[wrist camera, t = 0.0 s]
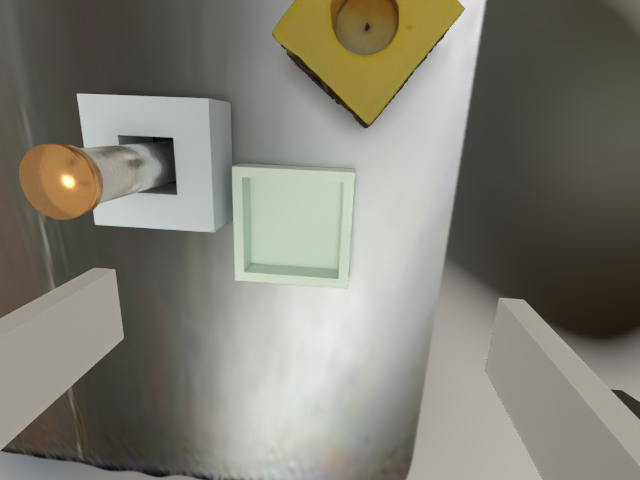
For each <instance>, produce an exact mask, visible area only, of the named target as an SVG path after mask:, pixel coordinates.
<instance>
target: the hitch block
mask: <svg viewBox="0 0 640 480" xmlns="http://www.w3.org/2000/svg"><path fill="white" fill-rule="evenodd" d="M77 99H78V106H79V113H80V120H81V128H82V135H83V142H84V148H90V147H103V146H115V145H128V144H140V143H153V137H171V138H173V141H174V155H175V168H176V182H177V184H163V185H160V186H157V187H153V188H150V189H147V190H143V191H140V192H137V193H133V194H130V195H127V196H123V197H120V198H117V199H113V200H110V201H107V202H103V203H100V204H98V206H97V207H96V208H95V209H94V210H93V213H94V220H95V225H108V226H123V227H139V228H154V229H170V230H185V231H201V232H216V231H217V230H218V229H220V228H221V227H222V226H224V225H225V224H226V223H228V222H229V221H230V220H232V219H233V193H232V132H231V103H230V102H225V101H219V100H214V99H209V98H183V97H156V96H128V95H101V94H77Z"/></svg>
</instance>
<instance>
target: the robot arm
mask: <svg viewBox="0 0 640 480" xmlns="http://www.w3.org/2000/svg"><path fill="white" fill-rule="evenodd" d="M123 338H124V335H123V327H122V320H121V312H120V304H119V296H118V289H117V281H116V273H115V269H104V268H93V269H91V270H89V271H87V272H86V273H84V274H82V275H80V276H78V277H76V278H74V279H73V280H71V281H69V282H67V283H65V284H63V285H61V286H60V287H58V288H56V289H54V290H52V291H50V292H49V293H47V294H45V295H43V296H41V297H39V298H37V299H36V300H34V301H32V302H30V303H28V304H26V305H24V306H23V307H21V308H19V309H17V310H15V311H13V312H11V313H10V314H8V315H6V316H4V317H2V318H0V450H1V449H2V448H4V447H5V446H6V445H7V444H8V443H9V442H10V441H11V440H12V439H13V438H15V437H16V436H17V435H18V434H19V433H20V432H21V431H22V430H23V429H24V428H26V427H27V426H28V425H29V424H30V423H31V422H32V421H33V420H34V419H35V418H37V417H38V416H39V415H40V414H41V413H42V412H43V411H44V410H45V409H46V408H48V407H49V406H50V405H51V404H52V403H53V402H54V401H55V400H56V399H57V398H59V397H60V396H61V395H62V394H63V393H64V392H65V391H66V390H67V389H68V388H70V387H71V386H72V385H73V384H74V383H75V382H76V381H77V380H78V379H79V378H81V377H82V376H83V375H84V374H85V373H86V372H87V371H88V370H89V369H90V368H92V367H93V366H94V365H95V364H96V363H97V362H98V361H99V360H100V359H101V358H103V357H104V356H105V355H106V354H107V353H108V352H109V351H110V350H111V349H112V348H114V347H115V346H116V345H117V344H118V343H119V342H120V341H121V340H122V339H123ZM485 371H486V373H487V375H488V376H489V379H490V380H491V382H492V384H493V386H494V388H495V390H496V392H497V394H498V396H499V398H500V399H501V401H502V403H503V405H504V407H505V409H506V411H507V413H508V415H509V417H510V418H511V420H512V422H513V424H514V426H515V428H516V430H517V432H518V434H519V436H520V437H521V439H522V441H523V443H524V445H525V447H526V449H527V451H528V452H529V454H530V456H531V458H532V460H533V462H534V464H535V466H536V468H537V470H538V471H539V473H540V475H541V477H542V479H543V480H640V402H639V401H637V400H636V399H634V398H633V397H631V396H629V395H628V394H626V393H625V392H623V391H621V390H611V389H609V388H608V387H607V385H606V384H605V383H604V382H603V381H602V380H601V379H600V378H599V377H598V376H597V375H596V374H595V373H594V372H593V371H592V370H591V369H590V368H589V367H588V366H587V365H586V364H585V363H584V362H583V361H582V360H581V359H580V358H579V356H578V355H577V354H576V353H575V352H573V350H572V349H571V348H570V347H569V346H568V345H567V344H566V343H565V342H564V341H563V340H562V339H561V338H560V337H559V336H558V335H557V334H556V333H555V332H554V331H553V330H552V328H550V326H549V325H548V324H547V323H546V322H545V321H544V320H543V319H542V318H541V317H540V316H539V315H538V314H537V313H536V312H535V311H534V310H533V309H532V308H531V307H530V306H529V305H528V304H527V303H526V302H525V301H524V300H522V299H507V298H499V302H498V307H497V312H496V318H495V322H494V328H493V333H492V338H491V343H490V348H489V353H488V359H487V363H486V368H485Z"/></svg>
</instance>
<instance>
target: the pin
mask: <svg viewBox="0 0 640 480" xmlns="http://www.w3.org/2000/svg"><path fill="white" fill-rule="evenodd" d="M19 178H20V183H21V187H22V189H23V192H24V194H25V196H26V197H27V199H28V200H29V202H30V203H31V204H32V205H33V206H34V207H35V208H36V209H37V210H38V211H40V212H41V213H43V214H44V215H46V216H48V217H51V218H54V219H59V220H67V219H72V218H75V217H78V216H81V215H85V214H87V213H89V212H91V211H93V210H94V209H95V208H96V207H97V206H98V204H100V203H103V202H107V201H110V200H113V199H117V198H120V197H123V196H127V195H130V194H133V193H137V192H140V191H143V190H147V189H150V188H153V187H157V186H160V185H163V184H167V183H170V182H173V181H176V168H175V155H174V141H166V142H153V143H140V144H128V145H115V146H103V147H90V148H78V147H76V146H73V145H70V144H64V143H61V144H43V145H39V146H36V147H34V148H32V149H30V150H29V151H28V152H27V153H26V154H25V156H24V157H23V159H22V161H21V164H20V170H19Z"/></svg>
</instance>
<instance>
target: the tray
mask: <svg viewBox="0 0 640 480" xmlns="http://www.w3.org/2000/svg"><path fill="white" fill-rule="evenodd" d="M354 183H355V169H347V168H327V167H307V166H287V165H267V164H247V163H241V164H238V165H235V166H232V193H233V227H234V262H235V280H239V281H252V282H266V283H279V284H292V285H306V286H319V287H333V288H346V289H347V288H348V273H349V258H350V243H351V228H352V213H353V198H354Z"/></svg>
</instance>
